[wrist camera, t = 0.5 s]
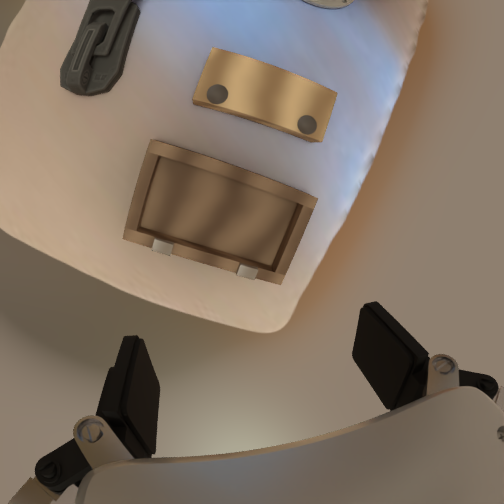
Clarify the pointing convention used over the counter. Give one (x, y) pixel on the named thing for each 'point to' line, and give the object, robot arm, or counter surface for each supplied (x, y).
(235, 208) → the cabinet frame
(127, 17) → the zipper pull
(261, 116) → the tan rectangular block
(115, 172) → the counter surface
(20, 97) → the counter surface
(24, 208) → the counter surface
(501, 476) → the robot arm
